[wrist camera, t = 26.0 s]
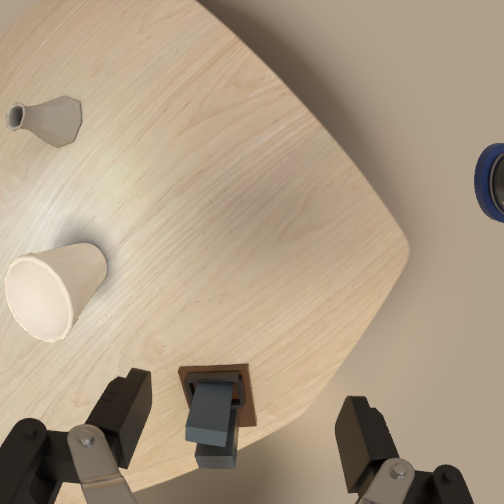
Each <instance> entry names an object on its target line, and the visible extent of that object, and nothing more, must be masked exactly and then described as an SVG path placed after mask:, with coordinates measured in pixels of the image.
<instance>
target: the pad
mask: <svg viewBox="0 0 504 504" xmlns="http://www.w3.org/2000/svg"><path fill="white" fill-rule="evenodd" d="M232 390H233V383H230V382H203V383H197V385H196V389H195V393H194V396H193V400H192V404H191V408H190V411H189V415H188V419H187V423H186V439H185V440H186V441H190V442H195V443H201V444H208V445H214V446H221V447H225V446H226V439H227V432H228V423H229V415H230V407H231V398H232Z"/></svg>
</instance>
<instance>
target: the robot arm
mask: <svg viewBox="0 0 504 504" xmlns="http://www.w3.org/2000/svg"><path fill="white" fill-rule="evenodd" d="M488 191H489V196H490V199H491V202H492V204H493V205H494V207H495V208H496V209H497V210H498V211H499V212H500V213H502V214H504V152H503V153H501V154H499V155H498V156H497V157H496V158H495V159H494V160H493V162H492V164H491V167H490V170H489V174H488ZM151 406H152V386H151V373H150V371H146V370H141V369H137V368H132V369H131V370H130V372H129V373H128V375H127V377H126V378H123V377H119V376H118V377H117V378H115V379H114V380H113V381H111V382H110V383H109V384H108V386H107V387H106V389H105V391H104V393H103V394H102V395H101V397H100V399H99V400H98V402H97V404H96V405H95V407H94V409H93V410H92V412H91V414H90V415H89V417H88V419H87V420H86V422H85V423H84V424H81V425H78V426H75V427H73V428H72V429H71V430H70V431H69V432H60V431H51V430H47V429H46V427H45V425H44V424H43V423H42V422H41V421H39V420H37V419H34V418H26V419H22V420H20V421H19V422H17V423H16V424H15V426H14V427H13V429H12V430H11V432H10V433H9V435H8V436H7V438H6V439H5V441H4V442H3V444H2V445H1V447H0V504H54V502H55V500H56V498H57V495H58V493H59V490H60V488H61V486H62V483H63V482H69V483H79V484H81V488H82V491H83V494H84V496H85V499H86V502H87V504H138V503H137V501H136V499H135V497H134V495H133V494H132V492H131V490H130V488H129V486H128V484H127V482H126V480H125V478H124V476H122V475H121V473H120V471H119V469H118V468H119V467H120V468H124V469H128V466H129V463H130V461H131V458H132V456H133V453H134V451H135V448H136V446H137V443H138V440H139V438H140V435H141V433H142V430H143V428H144V425H145V423H146V421H147V418H148V416H149V413H150V410H151ZM335 436H336V440H337V445H338V449H339V454H340V458H341V463H342V467H343V472H344V476H345V481H346V486H347V490H348V493H358V496H359V498H358V500H357V501H356V502H355V504H474V503H473V500H472V497H471V495H470V492H469V490H468V488H467V485H466V483H465V481H464V478H463V476H462V474H461V472H460V471H459V470H458V469H457V468H455V467H454V466H451V465H441V466H439V467H437V468H436V469H435V470H434V472H424V471H417V470H414V468H413V466H412V465H411V464H410V463H409V462H407V461H406V460H404V459H401V458H400V457H399V455H398V452H397V450H396V447H395V444H394V442H393V439H392V437H391V434H390V433H389V430H388V427H387V426H386V422H385V420H384V417H383V415H382V414H381V413H380V412H379V411H378V410H377V409H376V408H370V406H369V404H368V401H367V398H366V397H365V396H347V397H346V399H345V401H344V403H343V406H342V409H341V411H340V413H339V416H338V418H337V421H336V424H335Z"/></svg>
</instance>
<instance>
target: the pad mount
mask: <svg viewBox="0 0 504 504" xmlns="http://www.w3.org/2000/svg"><path fill="white" fill-rule="evenodd" d="M178 373H179V376H180V380H181V383H182V387H183V390H184V393H185V397H186V400H187V403H188V407H189V410H190V408H191V404H192V400H193V396H194V393H195V389H196V385H197V383H203V382H230V383H233V390H232V398H231V407H230V415H229V423H228V432H227V439H226V446H225V447H221V446H214V445H208V444H201V443H197V446H196V451H195V458H196V461H197V464H198V466H199V468H213V469H216V468H217V469H232V468H233V469H234V468H236V456H237V444H238V432H239V427H251V426H257V420H256V413H255V407H254V400H253V393H252V387H251V380H250V373H249V367H248V364H238V365H220V366H194V367H180V368H179V370H178Z"/></svg>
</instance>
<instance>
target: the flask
mask: <svg viewBox="0 0 504 504" xmlns="http://www.w3.org/2000/svg"><path fill="white" fill-rule="evenodd" d="M6 121H7V128H9V129H11V130H13V131H16V130H18V129H26V130H29V131H31V132H32V133H34V134H35V135H36V136H37V137H39V138H40V139H41V140H43V141H44V142H46V143H48V144H50V145H52V146H54V147H56V148H58V147H60V146H63V145H66V144H68V143H71V142H73V141H74V138H75V136H76V133H77V131H78V129H79V126H80V124H81V113H80V103H79V101H77V100H74V99H72V98H70V97H67V96H62V97H59V98H56V99H54V100H51V101H48V102H45V103H42V104H39V105H35V106H25V105H23V104H21V103H16V104H14V105H12V106H10V108H9V111H8V114H7V117H6Z"/></svg>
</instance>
